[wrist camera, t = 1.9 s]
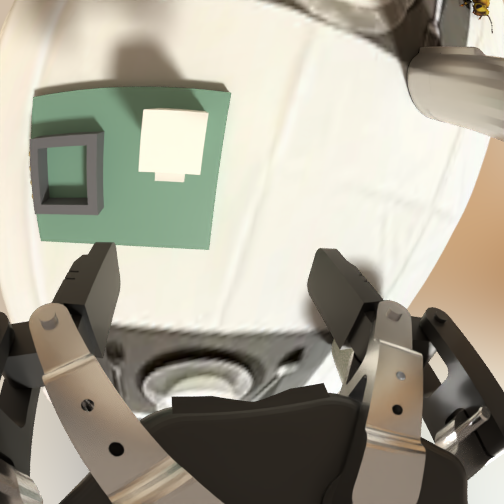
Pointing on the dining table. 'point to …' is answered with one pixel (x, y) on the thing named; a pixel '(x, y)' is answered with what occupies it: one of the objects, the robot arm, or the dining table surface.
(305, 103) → the dining table surface
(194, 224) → the board
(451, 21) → the dining table surface
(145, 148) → the plug
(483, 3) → the insect
